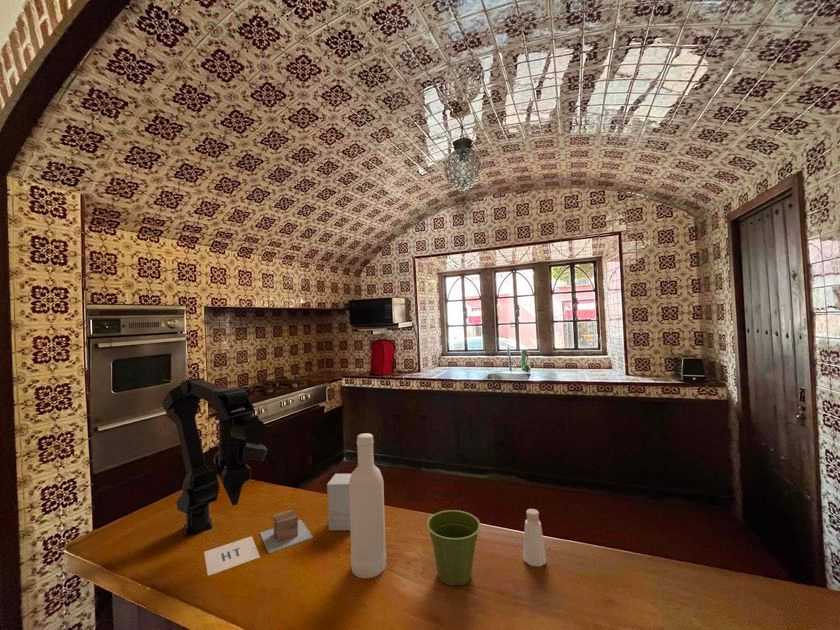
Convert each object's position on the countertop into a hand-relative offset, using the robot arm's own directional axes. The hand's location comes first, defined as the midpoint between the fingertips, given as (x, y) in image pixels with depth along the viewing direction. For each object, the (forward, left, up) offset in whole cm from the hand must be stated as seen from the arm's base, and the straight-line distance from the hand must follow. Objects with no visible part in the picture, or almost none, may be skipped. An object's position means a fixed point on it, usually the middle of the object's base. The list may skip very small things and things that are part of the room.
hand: (231, 497), depth 95 cm
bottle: (+30, +24, -12) cm, 40 cm away
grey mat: (+5, +12, -12) cm, 18 cm away
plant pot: (+44, +38, -12) cm, 60 cm away
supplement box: (+9, +27, -12) cm, 31 cm away
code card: (+5, -1, -12) cm, 13 cm away
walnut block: (+5, +12, -11) cm, 17 cm away
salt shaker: (+51, +56, -12) cm, 77 cm away
